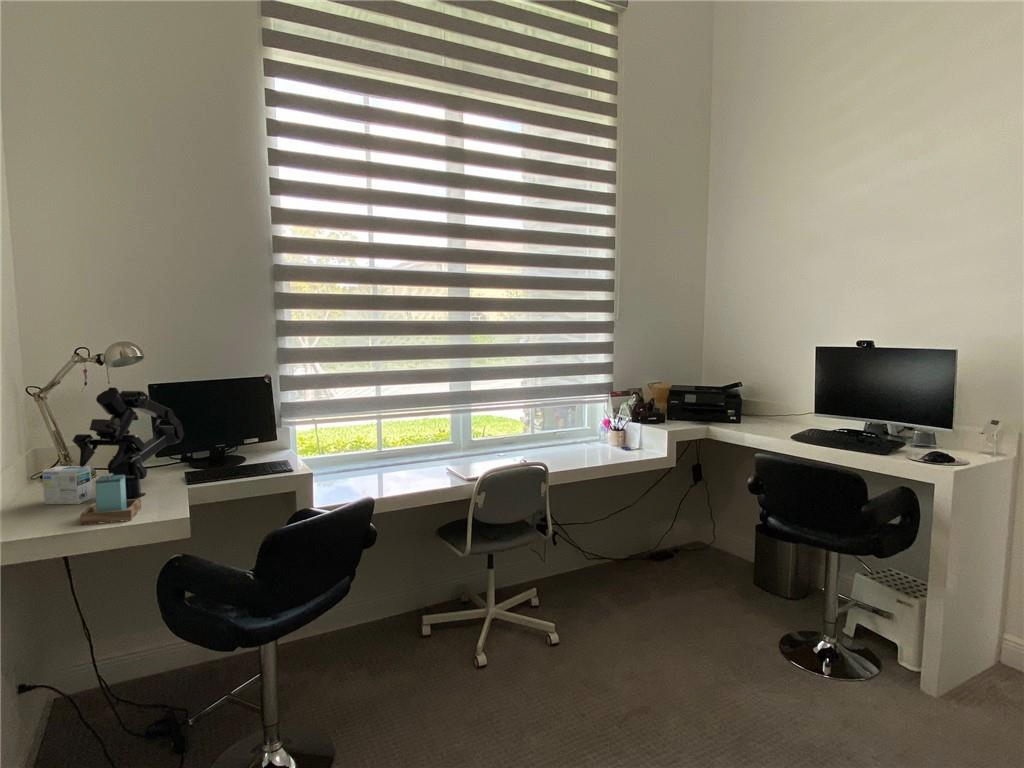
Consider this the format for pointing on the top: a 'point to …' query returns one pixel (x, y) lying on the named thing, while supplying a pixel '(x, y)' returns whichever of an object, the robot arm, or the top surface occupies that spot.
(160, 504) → the top surface
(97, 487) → the light blue block
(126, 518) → the tray
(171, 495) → the top surface
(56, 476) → the light bulb box
